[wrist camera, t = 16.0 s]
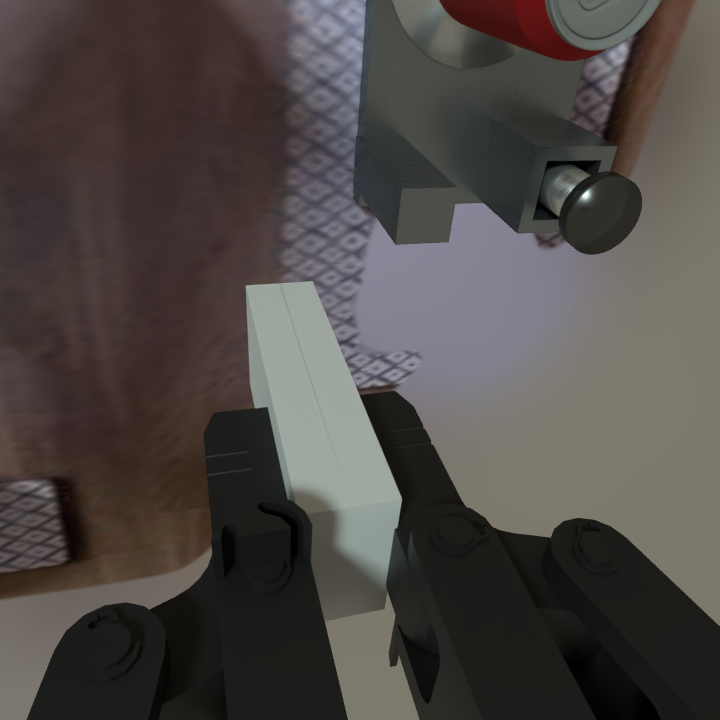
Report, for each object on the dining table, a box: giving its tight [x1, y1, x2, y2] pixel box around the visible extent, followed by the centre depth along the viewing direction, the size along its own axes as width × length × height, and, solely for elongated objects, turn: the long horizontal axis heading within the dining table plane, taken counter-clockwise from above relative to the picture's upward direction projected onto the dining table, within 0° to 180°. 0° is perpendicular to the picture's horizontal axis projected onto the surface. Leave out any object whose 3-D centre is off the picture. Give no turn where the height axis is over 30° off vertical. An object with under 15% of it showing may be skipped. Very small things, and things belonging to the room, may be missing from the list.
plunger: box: [538, 161, 642, 254], centre depth 37 cm, size 4×4×9 cm
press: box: [353, 0, 618, 245], centre depth 33 cm, size 14×20×10 cm
